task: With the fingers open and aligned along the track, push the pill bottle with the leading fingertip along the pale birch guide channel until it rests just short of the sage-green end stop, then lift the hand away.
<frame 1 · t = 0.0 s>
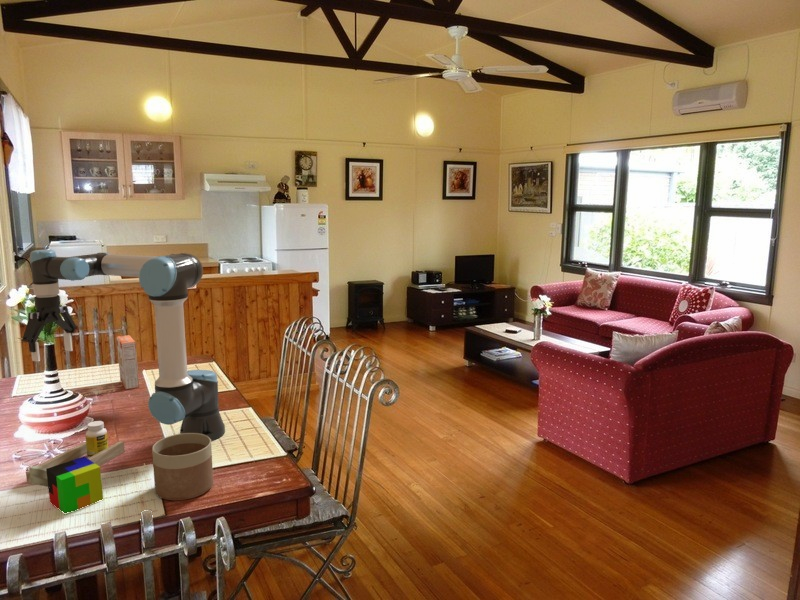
hand: (53, 355, 206), 28 cm above the table, fingers open, 13 cm apart
planter: (184, 489, 172), on the table
puzzle toy: (76, 502, 164), on the table
pill bottle: (98, 456, 192), on the table
cracker box: (129, 385, 262), on the table
guide channel: (78, 466, 185), on the table
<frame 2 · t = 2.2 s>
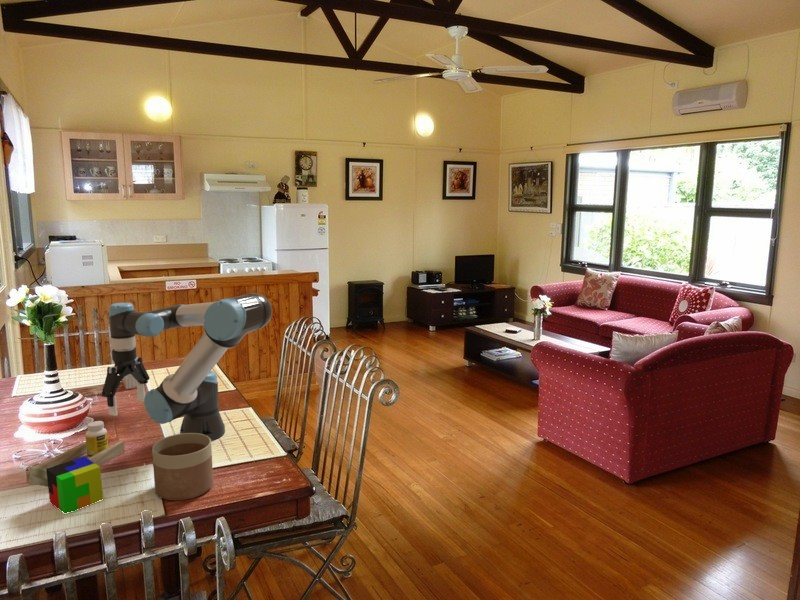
hand: (128, 407, 205), 11 cm above the table, fingers open, 13 cm apart
nothing on the table moved.
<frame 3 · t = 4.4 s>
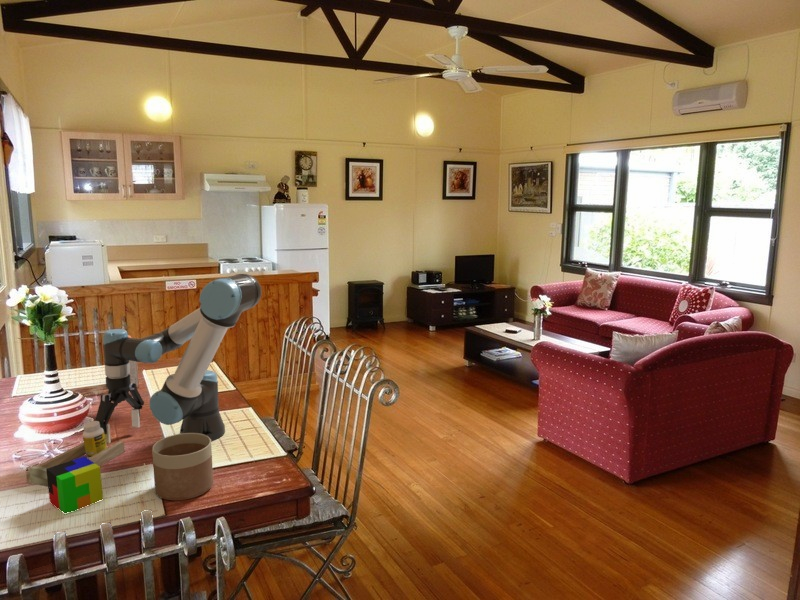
hand: (121, 434, 203), 2 cm above the table, fingers open, 13 cm apart
pill bottle: (97, 455, 192), on the table, touching gripper
everything else where it was.
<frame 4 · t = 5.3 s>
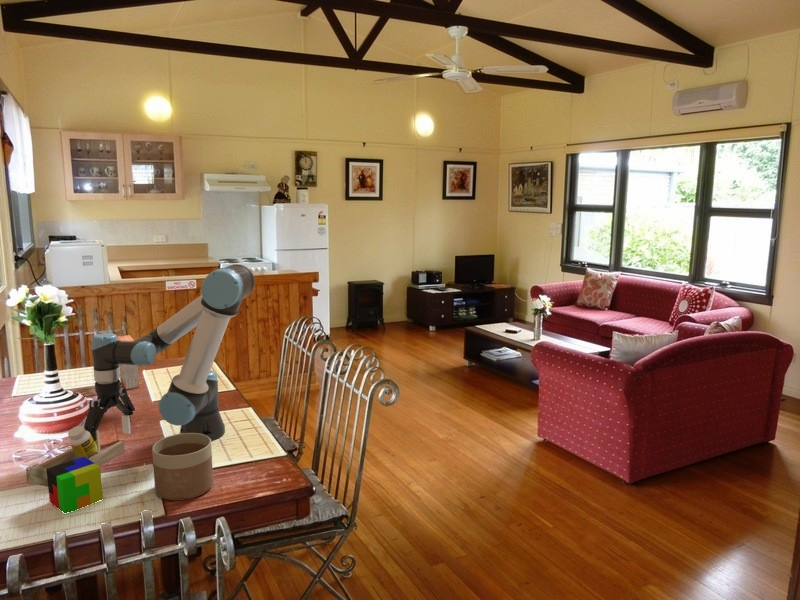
hand: (111, 441, 198), 2 cm above the table, fingers open, 13 cm apart
pill bottle: (90, 456, 189), point 1 cm above the table, touching gripper, hand
everything else where it was.
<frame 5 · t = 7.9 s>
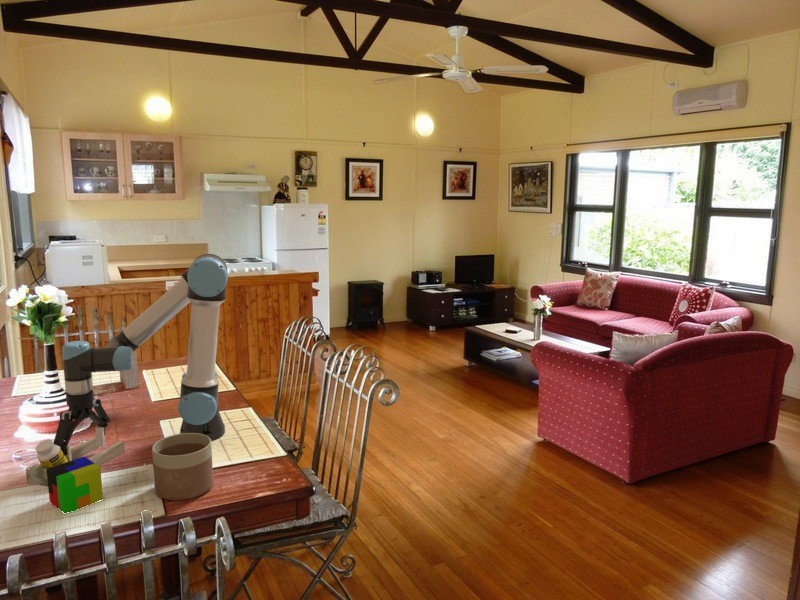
hand: (84, 454, 188), 2 cm above the table, fingers open, 13 cm apart
pill bottle: (60, 471, 179), point 1 cm above the table, touching gripper, hand
everything else where it was.
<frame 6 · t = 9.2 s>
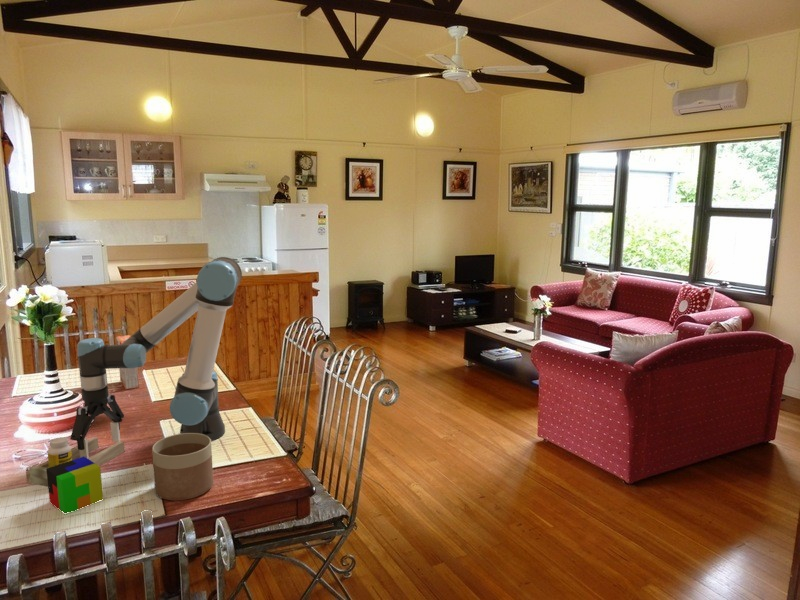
hand: (100, 449, 193), 2 cm above the table, fingers open, 13 cm apart
pill bottle: (61, 475, 179), on the table
everything else where it was.
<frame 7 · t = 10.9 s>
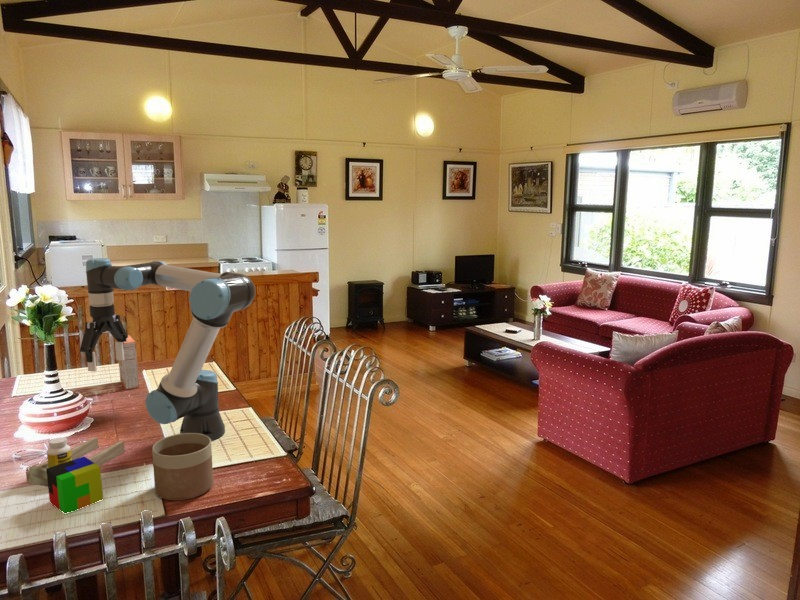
hand: (106, 365, 203), 26 cm above the table, fingers open, 13 cm apart
nothing on the table moved.
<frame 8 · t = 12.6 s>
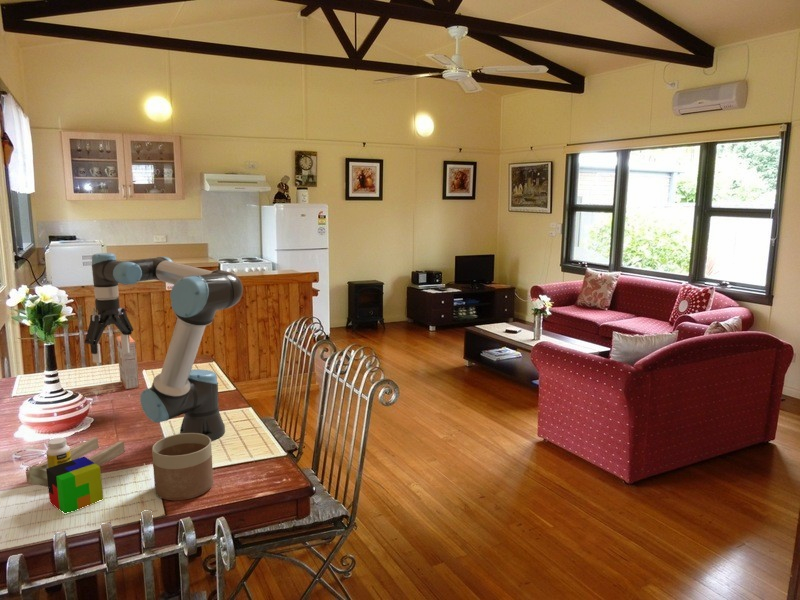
hand: (111, 357, 209), 27 cm above the table, fingers open, 13 cm apart
nothing on the table moved.
at the end: pill bottle inside the target area (1.5 cm from its centre), on the table; pill bottle tilted 1° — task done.
